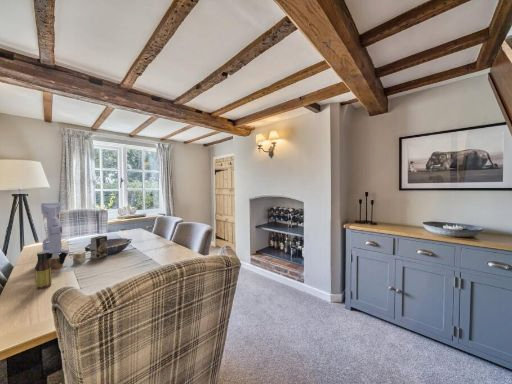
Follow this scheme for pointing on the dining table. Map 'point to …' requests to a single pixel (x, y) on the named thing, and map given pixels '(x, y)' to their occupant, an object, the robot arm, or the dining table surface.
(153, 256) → the dining table surface
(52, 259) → the walnut block
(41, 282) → the sauce bottle
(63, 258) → the robot arm
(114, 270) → the dining table surface
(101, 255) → the coffee box
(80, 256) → the birch block
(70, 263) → the board
